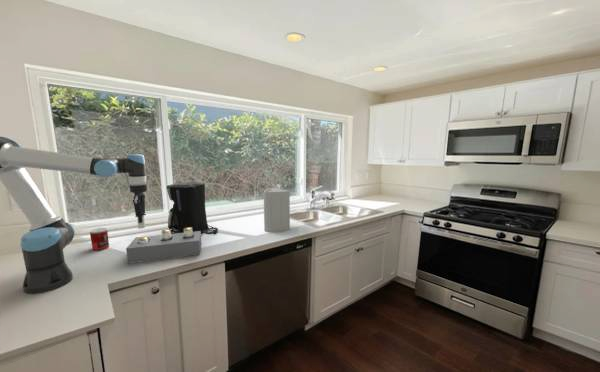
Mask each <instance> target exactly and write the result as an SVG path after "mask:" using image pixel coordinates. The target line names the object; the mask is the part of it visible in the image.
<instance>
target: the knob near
mask: <svg viewBox="0 0 600 372" xmlns="http://www.w3.org/2000/svg"><path fill="white" fill-rule="evenodd" d="M147 236H148V235H146V236H140V237H141V238H139V243H149V237H147Z"/></svg>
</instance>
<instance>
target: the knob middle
mask: <svg viewBox="0 0 600 372" xmlns="http://www.w3.org/2000/svg"><path fill="white" fill-rule="evenodd" d="M161 235H162V241H168V240H171V229H169V228H165V229H162V230H161Z"/></svg>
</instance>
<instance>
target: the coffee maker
mask: <svg viewBox="0 0 600 372" xmlns="http://www.w3.org/2000/svg"><path fill="white" fill-rule="evenodd" d="M166 192H167V195H168V198H169V200H170V201H172V203H173V204H172V207H171V208H170V209H169V212H168V219H167V229H171V234H175V233H184V228H186V227H192V232H195V231H201V235H202V234H204V233H206V234H209V235H210V234H213V235H216V234H217V233H218V231H219V230H218V227H213V226H211V225H209V224H208V220H207V218H208V217H207V210H206V184H205V183H204V182H191V181H190V182H180V183H173V184H167V185H166ZM210 230H212V231H210Z"/></svg>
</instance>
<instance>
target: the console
mask: <svg viewBox="0 0 600 372" xmlns="http://www.w3.org/2000/svg"><path fill="white" fill-rule="evenodd" d="M146 236H147V237H149V243H139V238H141V237H142V236H138V237H137V236H136V237H135V238H134V239H133V240H132V241H131V242H130V243H129V245H128V246H127V247H126V248H125V249H126V250H125V252H126V259H127V264H131V263H130V262H136V263H140V262H139V261H144V262H148V261H147V260H151V261H155V260H154V259H159V260H163V259H162V258H167V259H172V257H175V258H180V257H179V256H183V257H188V256H187V255H191V256H197V255H196V254H199V255H201V252H202V251H201V250H202V249H201V248H202V234H201V231H195V232H193V238H186V239H184V233H175V234H171V240H168V241H162V234H156V235H146Z"/></svg>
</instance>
